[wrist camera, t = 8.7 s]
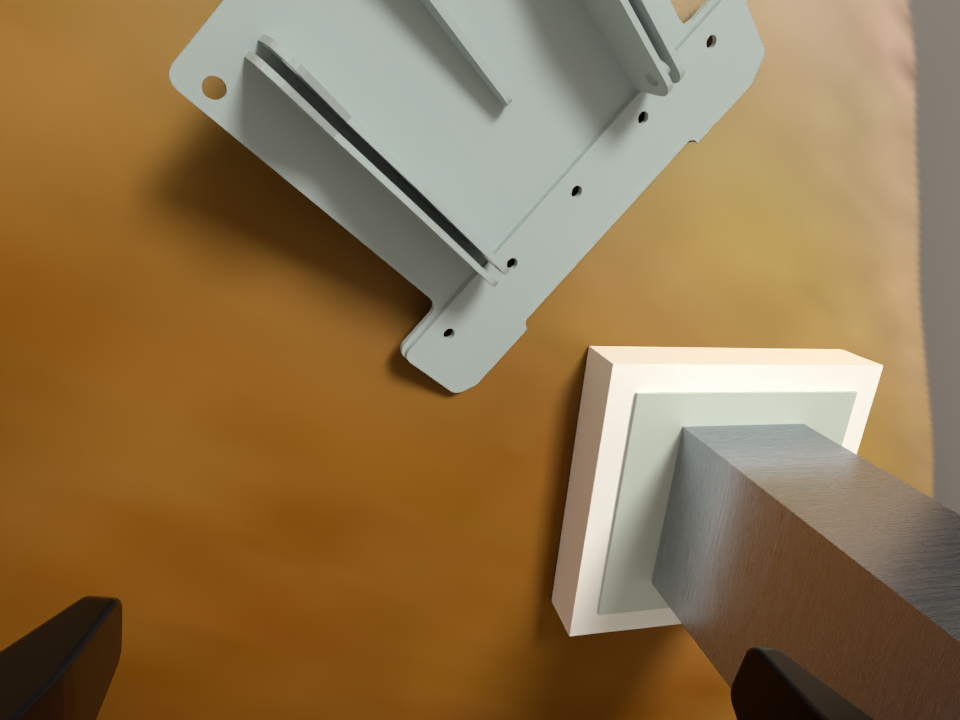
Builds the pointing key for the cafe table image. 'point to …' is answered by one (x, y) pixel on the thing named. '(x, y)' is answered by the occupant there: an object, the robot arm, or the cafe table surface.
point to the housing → (814, 566)
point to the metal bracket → (470, 133)
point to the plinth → (675, 455)
